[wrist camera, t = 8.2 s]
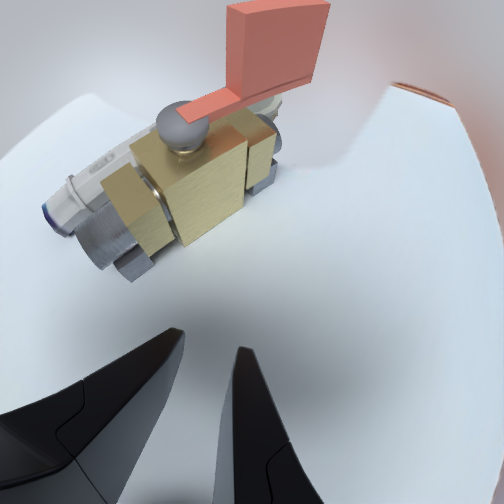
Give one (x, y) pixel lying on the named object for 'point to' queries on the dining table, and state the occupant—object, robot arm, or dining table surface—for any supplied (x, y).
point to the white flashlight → (88, 180)
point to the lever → (253, 64)
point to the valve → (179, 191)
